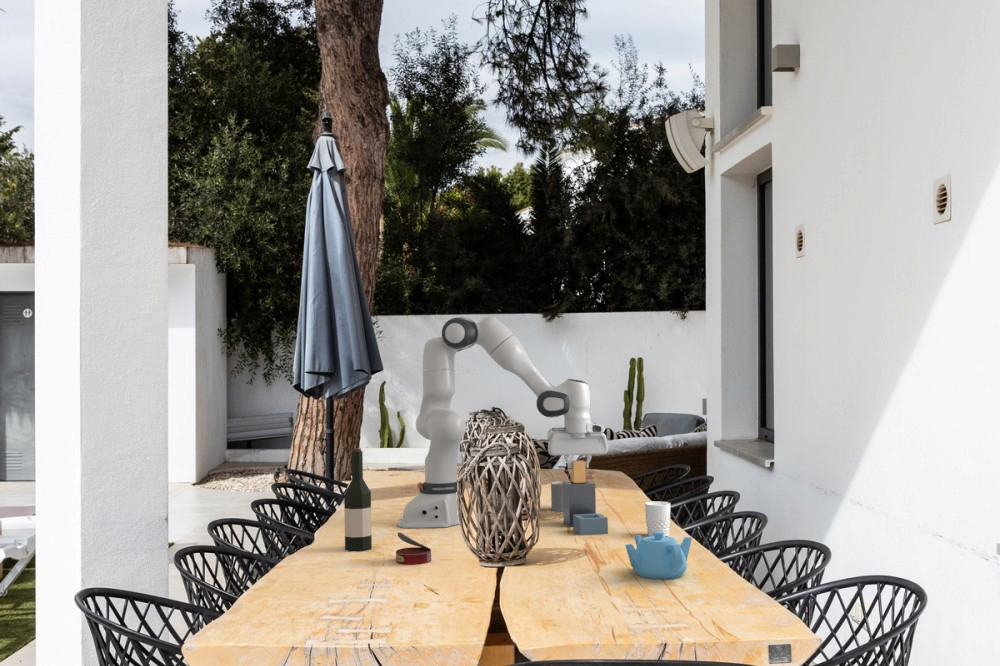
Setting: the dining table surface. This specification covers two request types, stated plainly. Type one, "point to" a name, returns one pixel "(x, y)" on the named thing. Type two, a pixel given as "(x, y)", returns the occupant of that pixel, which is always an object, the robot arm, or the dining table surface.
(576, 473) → the plug
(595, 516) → the lower socket
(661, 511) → the white cup
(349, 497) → the wine bottle
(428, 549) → the canned food
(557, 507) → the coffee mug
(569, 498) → the upper socket
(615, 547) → the dining table surface
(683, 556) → the teapot
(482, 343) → the robot arm
